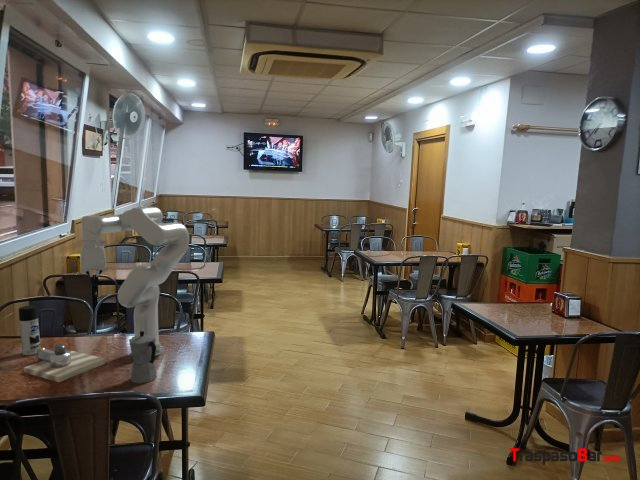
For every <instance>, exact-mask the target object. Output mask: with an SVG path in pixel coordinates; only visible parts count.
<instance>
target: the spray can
mask: <svg viewBox="0 0 640 480" xmlns="http://www.w3.org/2000/svg"><path fill="white" fill-rule="evenodd" d="M18 319H19V321H18V322H19V330H20V341H21V342H20V343H21V352H22V353H21V354H22V355H23V356H28V357H29V356H34V355H37V349H39V348H41V339H40V327H39V325H40V324H39V315H38V306H37V305H26V306H22V307H21V306H20V307H19V308H18Z"/></svg>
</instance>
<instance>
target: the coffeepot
mask: <svg viewBox="0 0 640 480" xmlns="http://www.w3.org/2000/svg"><path fill="white" fill-rule="evenodd" d="M128 342H129V346H130V347H129V348H130V351H131V357H132V359H133V362H132V367H131V368H132V369H131V377H130V380H131V382H132V383H134V384H148V383H150V382H153V381H154V380H156V379H157V372H156V367H155V363H154V362H155V357H156V356H155V353H156V345H155V337H154V336H149V335H144V331H141V332H140V336H135V335H134V336H131V338H129V339H128Z"/></svg>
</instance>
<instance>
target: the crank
mask: <svg viewBox="0 0 640 480" xmlns="http://www.w3.org/2000/svg"><path fill="white" fill-rule="evenodd" d="M44 347H45V346H43V347H40V348H39V349H38V356H37V359H38V358H40V359H44V360H47V361H50V366H52V367H61V366H66V365H68V364H70V363H71V352H70V351H71V350H69V349H68V350H66V345H65V344H62V343H61V344H57V345H54V346H53V347H54V350H51V349H48V348H47V349H45V348H46V347H45V348H44Z"/></svg>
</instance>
